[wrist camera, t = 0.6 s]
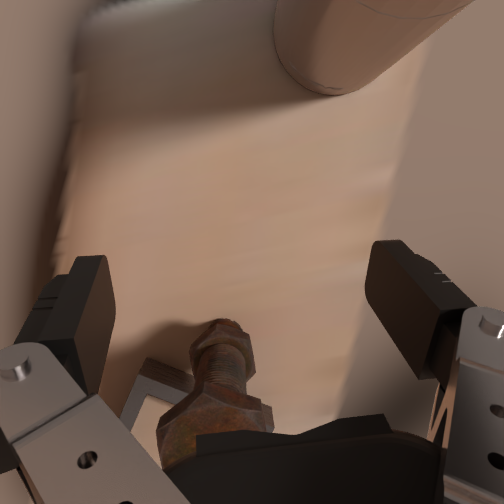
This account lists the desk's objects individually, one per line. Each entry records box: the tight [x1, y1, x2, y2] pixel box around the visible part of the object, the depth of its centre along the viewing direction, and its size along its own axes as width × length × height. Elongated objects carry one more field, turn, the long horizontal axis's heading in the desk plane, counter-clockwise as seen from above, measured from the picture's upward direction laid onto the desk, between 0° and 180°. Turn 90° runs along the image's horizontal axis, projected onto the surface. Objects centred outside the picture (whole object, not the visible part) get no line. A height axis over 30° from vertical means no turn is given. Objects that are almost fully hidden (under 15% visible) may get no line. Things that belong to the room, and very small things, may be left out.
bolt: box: [156, 319, 267, 470], centre depth 26 cm, size 6×5×15 cm
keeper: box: [119, 358, 274, 433], centre depth 33 cm, size 11×11×3 cm
